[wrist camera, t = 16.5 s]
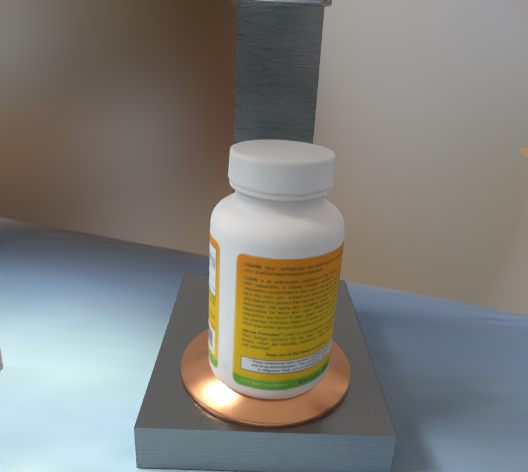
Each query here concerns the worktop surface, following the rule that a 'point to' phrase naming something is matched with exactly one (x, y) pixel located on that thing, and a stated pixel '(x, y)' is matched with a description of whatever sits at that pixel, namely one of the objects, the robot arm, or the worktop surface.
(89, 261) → the worktop surface
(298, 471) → the arbor press
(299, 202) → the supplement bottle
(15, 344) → the worktop surface
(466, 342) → the worktop surface
